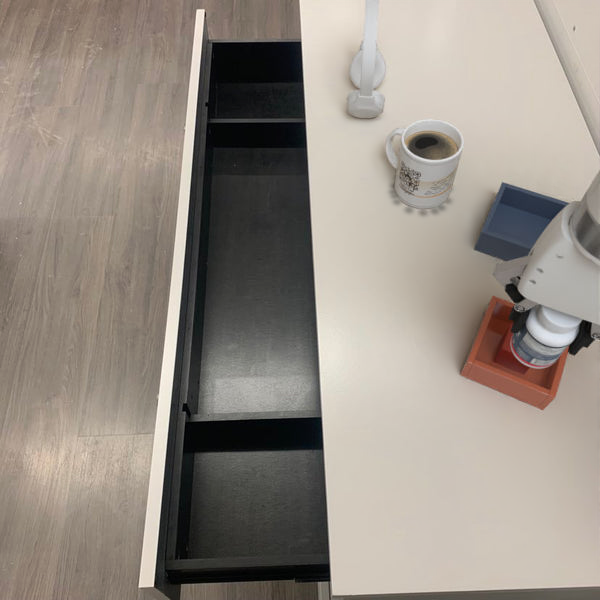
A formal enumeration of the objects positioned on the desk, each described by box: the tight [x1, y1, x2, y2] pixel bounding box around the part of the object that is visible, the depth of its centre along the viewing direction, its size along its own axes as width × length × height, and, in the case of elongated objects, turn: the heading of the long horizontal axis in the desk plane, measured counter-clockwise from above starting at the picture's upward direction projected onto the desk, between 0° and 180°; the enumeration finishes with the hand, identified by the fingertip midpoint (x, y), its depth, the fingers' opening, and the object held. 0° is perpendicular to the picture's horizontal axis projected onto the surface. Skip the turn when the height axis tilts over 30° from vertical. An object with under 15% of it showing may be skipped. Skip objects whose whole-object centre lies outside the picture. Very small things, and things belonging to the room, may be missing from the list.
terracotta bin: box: [459, 295, 569, 411], centre depth 74 cm, size 12×12×5 cm
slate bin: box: [473, 181, 570, 262], centre depth 85 cm, size 12×12×5 cm
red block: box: [493, 323, 530, 374], centre depth 73 cm, size 4×4×4 cm
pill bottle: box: [510, 304, 583, 369], centre depth 56 cm, size 5×5×9 cm
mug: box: [384, 118, 465, 210], centre depth 89 cm, size 10×12×11 cm
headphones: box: [346, 0, 387, 119], centre depth 97 cm, size 7×18×20 cm, turn 174°
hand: (545, 331), depth 56 cm, fingers closed on pill bottle, 5 cm apart
